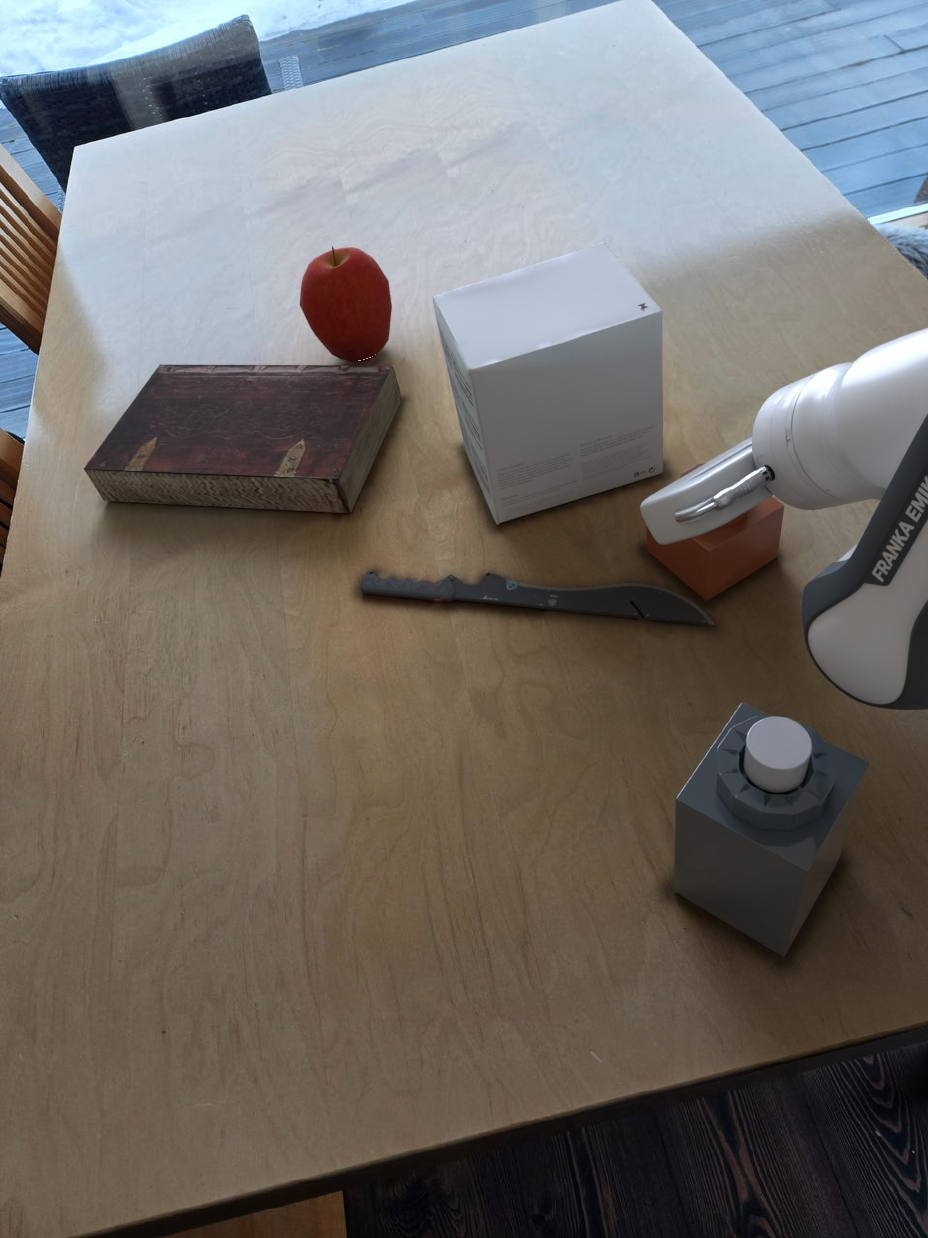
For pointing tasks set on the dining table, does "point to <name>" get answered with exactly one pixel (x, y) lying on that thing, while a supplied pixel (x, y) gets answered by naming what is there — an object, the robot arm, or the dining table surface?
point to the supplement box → (555, 380)
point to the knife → (548, 597)
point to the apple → (347, 303)
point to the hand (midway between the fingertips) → (714, 475)
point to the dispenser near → (762, 835)
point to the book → (249, 436)
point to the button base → (724, 549)
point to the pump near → (777, 754)
